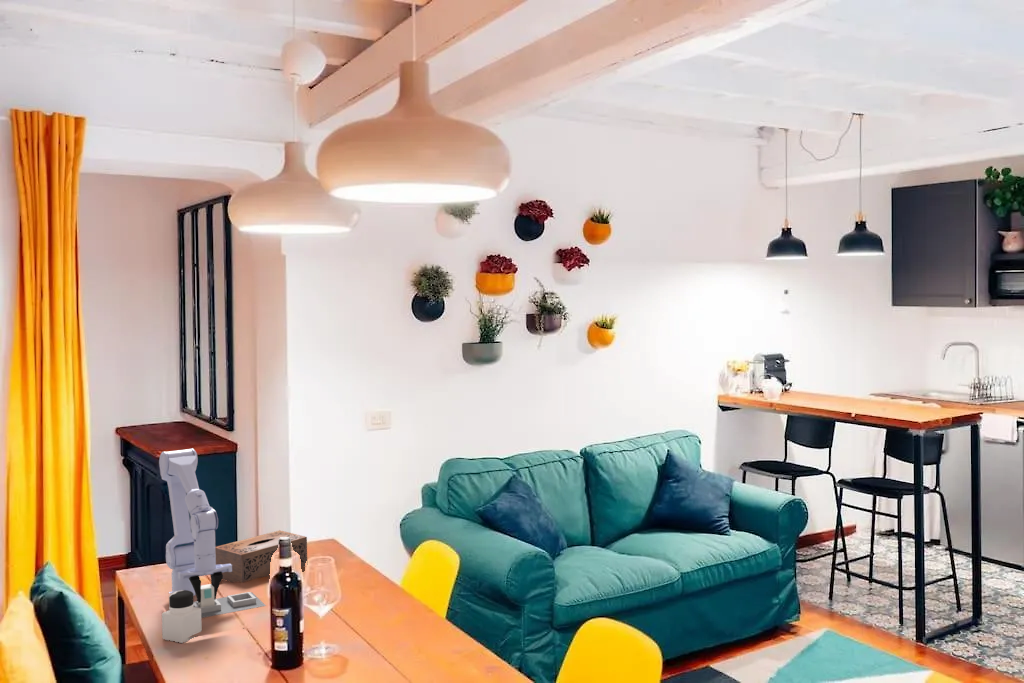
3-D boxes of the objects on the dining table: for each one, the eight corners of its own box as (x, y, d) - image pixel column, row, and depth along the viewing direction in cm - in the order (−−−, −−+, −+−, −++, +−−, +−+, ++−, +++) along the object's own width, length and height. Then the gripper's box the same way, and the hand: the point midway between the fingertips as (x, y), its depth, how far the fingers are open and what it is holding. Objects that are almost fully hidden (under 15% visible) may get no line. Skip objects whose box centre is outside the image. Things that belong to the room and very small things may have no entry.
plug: (198, 606, 259) (198, 586, 259) (211, 604, 261) (211, 583, 261) (202, 611, 255) (201, 590, 255) (215, 608, 257) (214, 587, 257)
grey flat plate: (182, 608, 262) (182, 599, 262) (252, 595, 272) (252, 587, 272) (194, 622, 250) (193, 613, 250) (265, 609, 261) (265, 600, 260)
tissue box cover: (241, 586, 282) (241, 554, 282) (214, 577, 291) (213, 547, 290) (307, 566, 302) (306, 536, 302) (280, 559, 311) (279, 530, 311)
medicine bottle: (202, 634, 242) (201, 590, 241) (182, 643, 235) (181, 598, 234) (182, 630, 245) (181, 586, 244) (161, 639, 238) (160, 594, 237)
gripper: (181, 560, 251) (182, 609, 251) (234, 552, 258) (235, 599, 259) (176, 554, 257) (177, 601, 257) (228, 546, 264) (229, 592, 265)
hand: (206, 600), depth 258 cm, fingers closed on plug, 3 cm apart
